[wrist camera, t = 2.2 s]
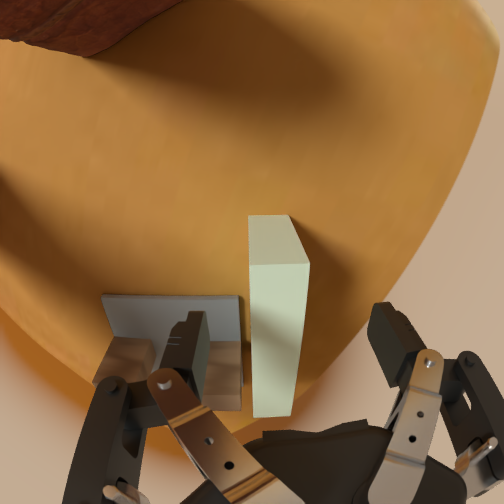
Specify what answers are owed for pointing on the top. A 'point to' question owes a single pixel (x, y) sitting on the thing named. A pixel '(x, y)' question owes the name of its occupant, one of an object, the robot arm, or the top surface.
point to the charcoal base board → (170, 317)
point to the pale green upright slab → (276, 311)
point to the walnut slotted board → (143, 357)
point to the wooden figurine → (75, 22)
